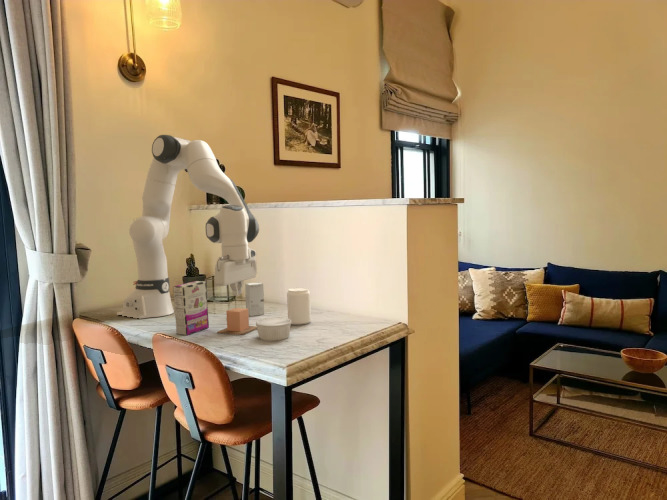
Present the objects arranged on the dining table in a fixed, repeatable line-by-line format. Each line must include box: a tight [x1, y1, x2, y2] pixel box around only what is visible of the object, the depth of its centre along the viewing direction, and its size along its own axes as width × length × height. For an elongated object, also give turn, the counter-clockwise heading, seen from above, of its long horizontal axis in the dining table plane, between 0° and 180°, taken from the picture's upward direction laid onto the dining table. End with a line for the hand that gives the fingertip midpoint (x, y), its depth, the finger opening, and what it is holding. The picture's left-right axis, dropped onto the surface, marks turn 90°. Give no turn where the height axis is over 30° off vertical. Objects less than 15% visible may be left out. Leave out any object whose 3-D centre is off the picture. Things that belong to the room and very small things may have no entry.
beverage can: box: [286, 287, 312, 326], centre depth 181 cm, size 8×8×12 cm
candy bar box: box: [172, 280, 210, 336], centre depth 173 cm, size 11×5×16 cm, turn 153°
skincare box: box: [244, 282, 265, 317], centre depth 197 cm, size 6×4×12 cm
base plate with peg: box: [216, 325, 258, 336], centre depth 172 cm, size 10×10×6 cm
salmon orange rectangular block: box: [225, 307, 250, 332], centre depth 172 cm, size 5×5×7 cm
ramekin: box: [255, 316, 292, 342], centre depth 162 cm, size 11×11×5 cm
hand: (237, 295), depth 171 cm, fingers closed
